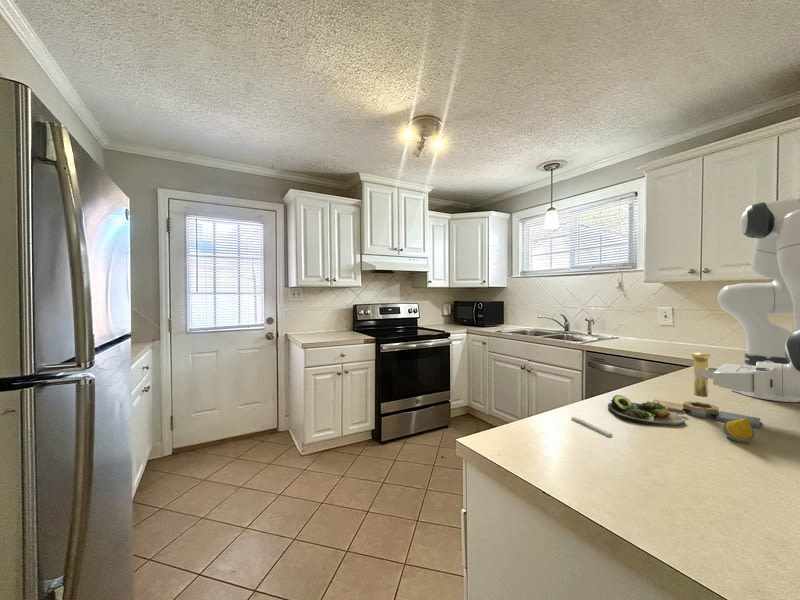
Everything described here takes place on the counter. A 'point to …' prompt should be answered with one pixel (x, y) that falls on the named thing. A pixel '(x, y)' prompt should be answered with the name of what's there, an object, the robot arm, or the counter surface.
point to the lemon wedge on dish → (739, 430)
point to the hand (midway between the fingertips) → (696, 370)
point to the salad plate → (644, 412)
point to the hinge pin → (700, 381)
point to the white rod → (592, 427)
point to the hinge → (707, 411)
